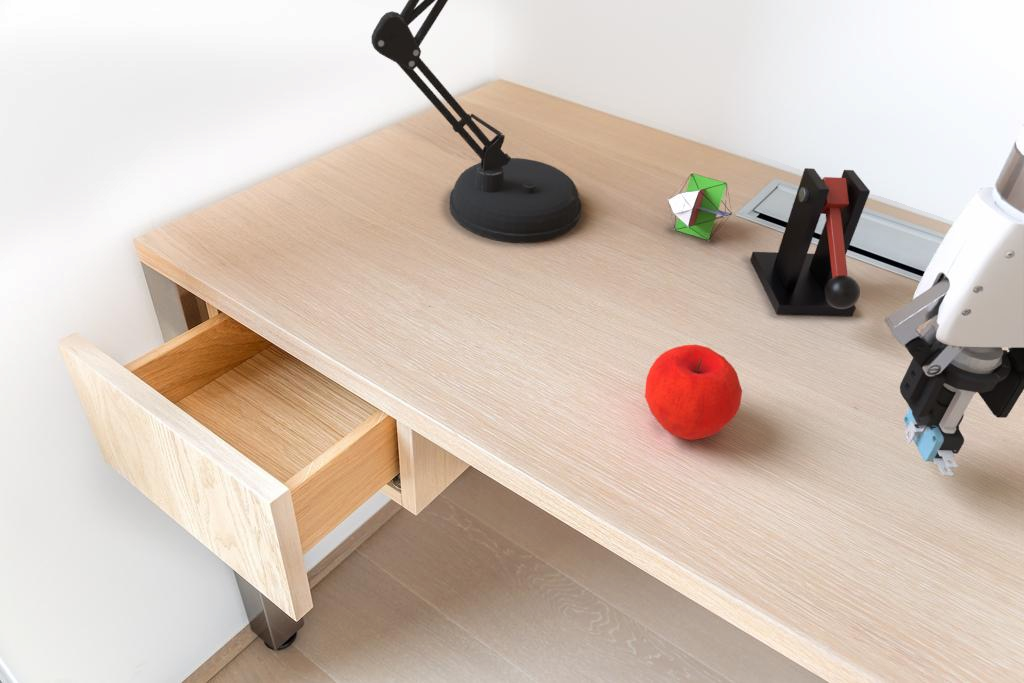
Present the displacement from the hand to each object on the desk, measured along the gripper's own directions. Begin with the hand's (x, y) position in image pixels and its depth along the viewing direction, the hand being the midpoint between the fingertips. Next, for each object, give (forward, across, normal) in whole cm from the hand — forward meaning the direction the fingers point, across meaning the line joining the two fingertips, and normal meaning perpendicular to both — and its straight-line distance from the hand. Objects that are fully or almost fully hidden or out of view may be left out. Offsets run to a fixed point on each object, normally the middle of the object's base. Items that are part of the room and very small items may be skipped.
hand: (952, 402), depth 59 cm
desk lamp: (+8, +30, -42) cm, 52 cm away
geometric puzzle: (+9, +10, -38) cm, 40 cm away
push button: (+5, 0, 0) cm, 5 cm away
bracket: (+9, +1, -27) cm, 28 cm away
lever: (+2, +1, -23) cm, 24 cm away
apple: (+8, +18, -6) cm, 20 cm away
